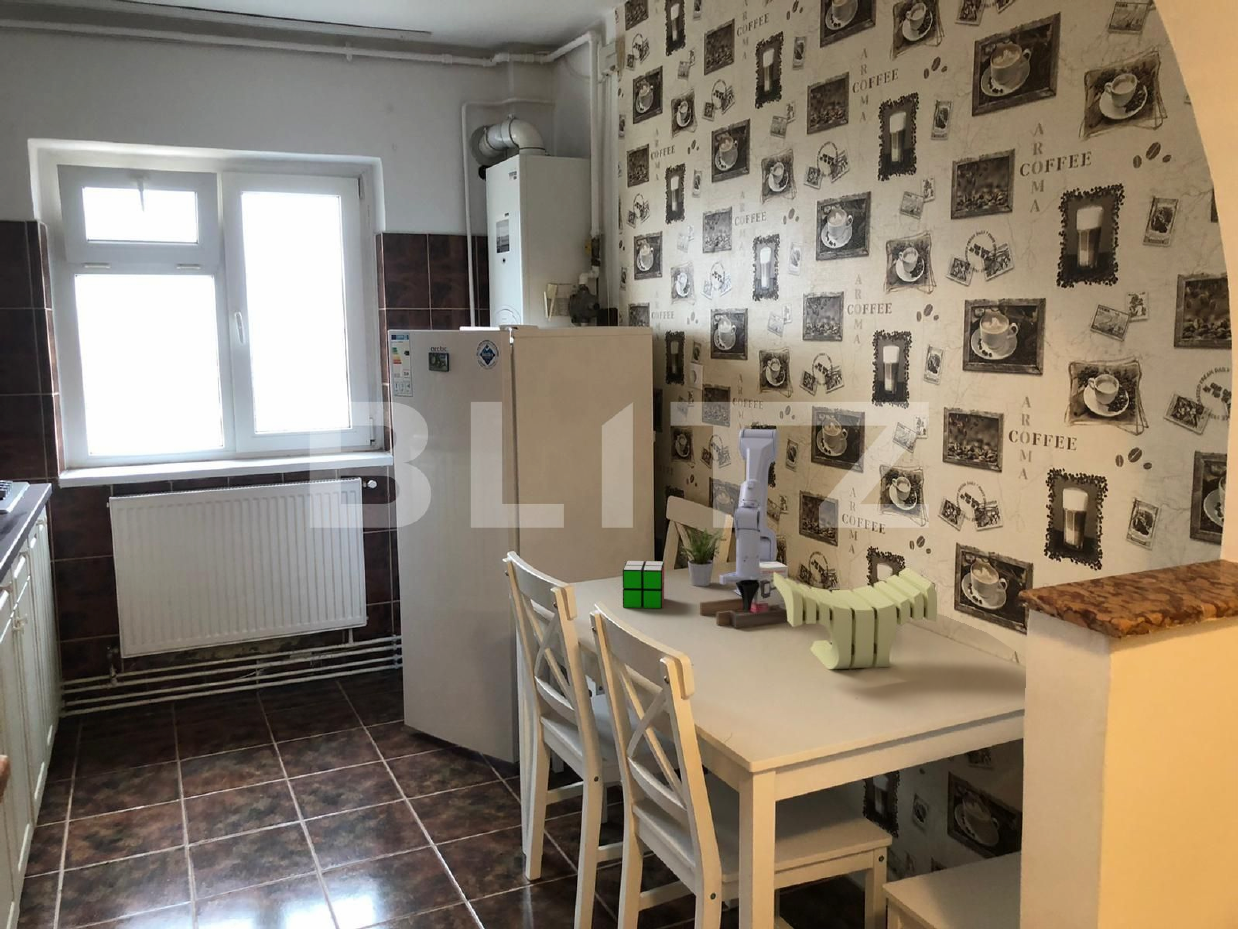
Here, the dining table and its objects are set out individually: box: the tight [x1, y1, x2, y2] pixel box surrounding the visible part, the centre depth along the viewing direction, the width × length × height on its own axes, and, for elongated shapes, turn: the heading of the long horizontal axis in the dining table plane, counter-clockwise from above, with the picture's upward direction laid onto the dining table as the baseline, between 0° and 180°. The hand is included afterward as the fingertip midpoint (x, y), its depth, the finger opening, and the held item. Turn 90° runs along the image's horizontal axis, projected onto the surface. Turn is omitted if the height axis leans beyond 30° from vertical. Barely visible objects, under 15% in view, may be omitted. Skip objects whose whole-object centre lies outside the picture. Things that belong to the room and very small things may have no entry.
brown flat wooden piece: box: [699, 597, 789, 630], centre depth 242 cm, size 14×31×3 cm, turn 111°
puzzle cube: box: [622, 560, 665, 610], centre depth 253 cm, size 10×10×10 cm
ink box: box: [750, 561, 789, 613], centre depth 245 cm, size 8×5×12 cm, turn 113°
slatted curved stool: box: [773, 567, 938, 670], centre depth 208 cm, size 30×16×18 cm, turn 96°
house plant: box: [677, 525, 727, 587], centre depth 271 cm, size 14×14×16 cm
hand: (747, 610), depth 242 cm, fingers closed
